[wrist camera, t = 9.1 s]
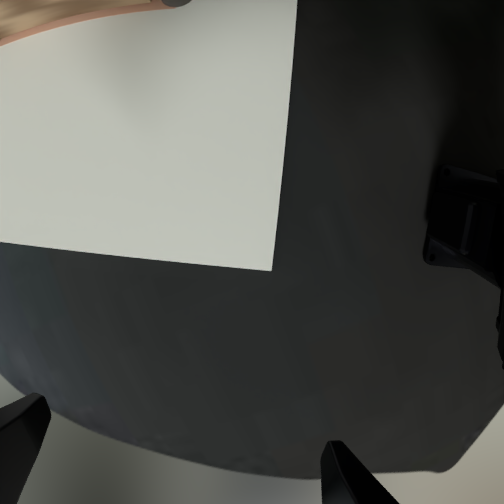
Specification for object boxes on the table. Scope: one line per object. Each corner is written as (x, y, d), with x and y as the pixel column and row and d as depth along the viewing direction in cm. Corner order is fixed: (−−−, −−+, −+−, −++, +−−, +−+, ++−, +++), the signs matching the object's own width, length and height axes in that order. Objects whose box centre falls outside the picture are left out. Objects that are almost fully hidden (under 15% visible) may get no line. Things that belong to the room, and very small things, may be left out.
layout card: (302, -110, 11) (303, -114, 10) (270, 267, 19) (271, 271, 18) (39, -71, 10) (36, -73, 10) (-19, 236, 19) (-24, 238, 18)
